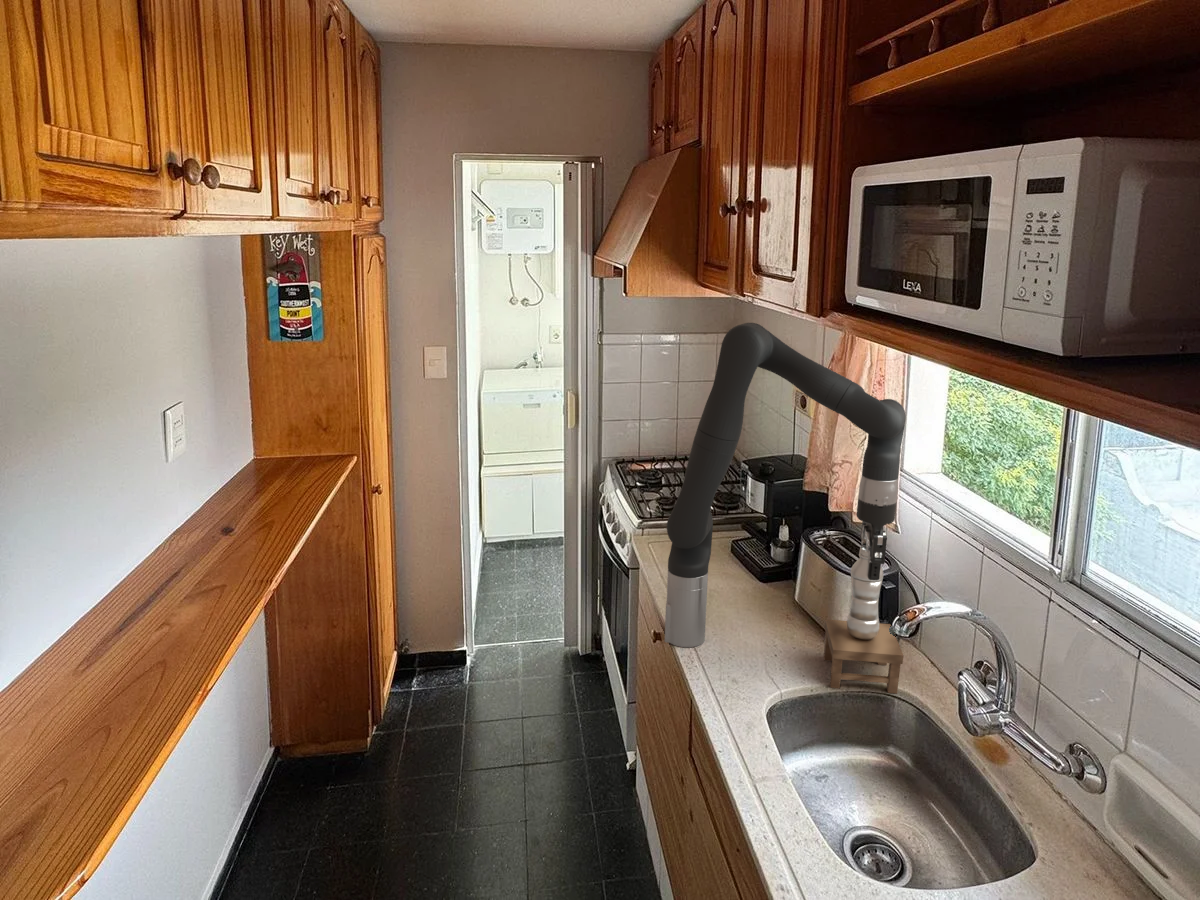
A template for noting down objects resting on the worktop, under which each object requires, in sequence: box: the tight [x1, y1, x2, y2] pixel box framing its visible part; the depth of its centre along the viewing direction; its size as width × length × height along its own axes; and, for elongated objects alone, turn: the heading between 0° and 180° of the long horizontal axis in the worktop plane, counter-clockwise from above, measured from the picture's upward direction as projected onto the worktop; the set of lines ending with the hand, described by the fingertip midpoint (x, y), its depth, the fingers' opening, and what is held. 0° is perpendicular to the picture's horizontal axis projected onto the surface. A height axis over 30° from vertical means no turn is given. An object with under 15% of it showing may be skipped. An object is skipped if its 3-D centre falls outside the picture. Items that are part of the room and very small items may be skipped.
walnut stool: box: [823, 618, 904, 694], centre depth 178 cm, size 14×14×9 cm
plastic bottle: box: [846, 545, 884, 640], centre depth 175 cm, size 6×7×20 cm
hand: (869, 571), depth 173 cm, fingers open, 8 cm apart
